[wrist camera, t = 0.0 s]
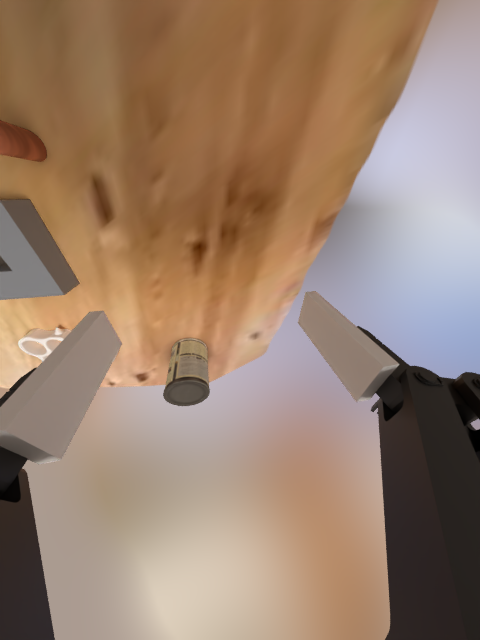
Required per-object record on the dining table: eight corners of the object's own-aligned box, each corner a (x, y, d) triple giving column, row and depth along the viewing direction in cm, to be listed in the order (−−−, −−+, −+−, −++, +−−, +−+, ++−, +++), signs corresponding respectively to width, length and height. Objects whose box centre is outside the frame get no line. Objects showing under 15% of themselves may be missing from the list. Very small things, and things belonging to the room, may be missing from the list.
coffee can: (207, 361, 55) (209, 403, 44) (173, 363, 53) (166, 408, 42) (208, 336, 49) (209, 379, 38) (169, 338, 47) (159, 383, 36)
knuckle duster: (35, 360, 44) (25, 315, 37) (116, 369, 51) (121, 333, 44) (24, 370, 42) (12, 325, 35) (112, 379, 49) (116, 342, 42)
